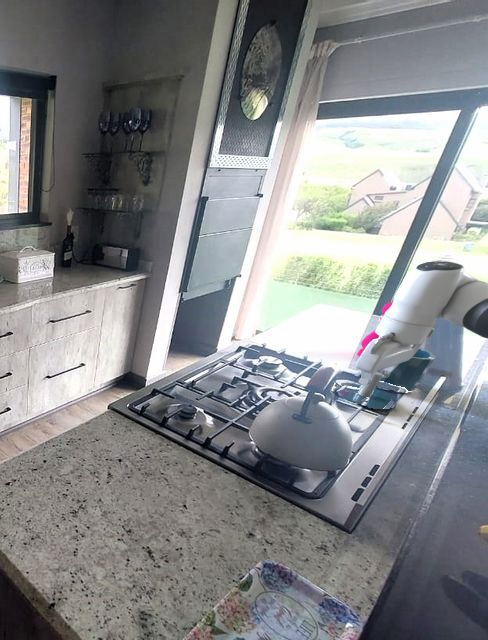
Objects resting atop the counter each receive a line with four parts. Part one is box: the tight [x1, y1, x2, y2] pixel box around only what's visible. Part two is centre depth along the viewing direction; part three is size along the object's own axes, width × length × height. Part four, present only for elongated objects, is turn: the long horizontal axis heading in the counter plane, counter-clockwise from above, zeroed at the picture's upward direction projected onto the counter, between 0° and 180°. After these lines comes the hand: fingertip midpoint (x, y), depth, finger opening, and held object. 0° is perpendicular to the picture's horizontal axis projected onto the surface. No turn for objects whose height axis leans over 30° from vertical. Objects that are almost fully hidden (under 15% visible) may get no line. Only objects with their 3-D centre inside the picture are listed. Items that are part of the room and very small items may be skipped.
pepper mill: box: [357, 301, 393, 357], centre depth 124 cm, size 7×7×20 cm
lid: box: [337, 372, 392, 410], centre depth 104 cm, size 13×13×8 cm
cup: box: [377, 347, 436, 392], centre depth 112 cm, size 12×12×10 cm
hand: (372, 380), depth 103 cm, fingers open, 8 cm apart
